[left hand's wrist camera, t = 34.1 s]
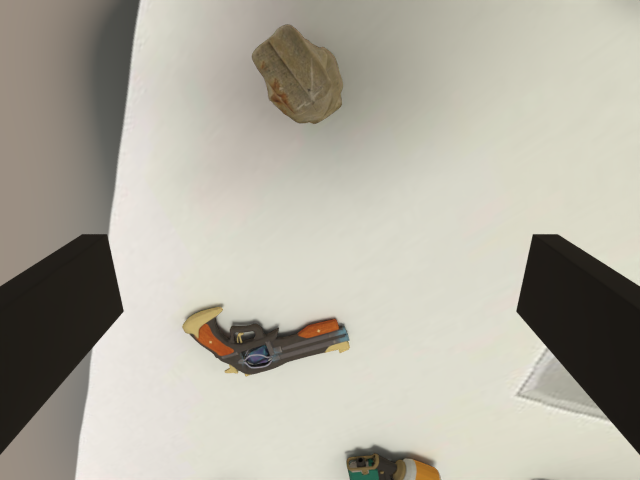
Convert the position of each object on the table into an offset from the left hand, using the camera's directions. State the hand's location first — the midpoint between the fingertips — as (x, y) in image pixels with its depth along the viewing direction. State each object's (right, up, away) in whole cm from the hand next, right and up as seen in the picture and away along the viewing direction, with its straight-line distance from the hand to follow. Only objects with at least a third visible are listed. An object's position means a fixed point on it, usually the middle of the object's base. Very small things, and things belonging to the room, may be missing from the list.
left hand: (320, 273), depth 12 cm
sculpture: (-1, +17, +27) cm, 31 cm away
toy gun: (-6, -10, +37) cm, 39 cm away
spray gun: (+11, -37, +48) cm, 61 cm away
